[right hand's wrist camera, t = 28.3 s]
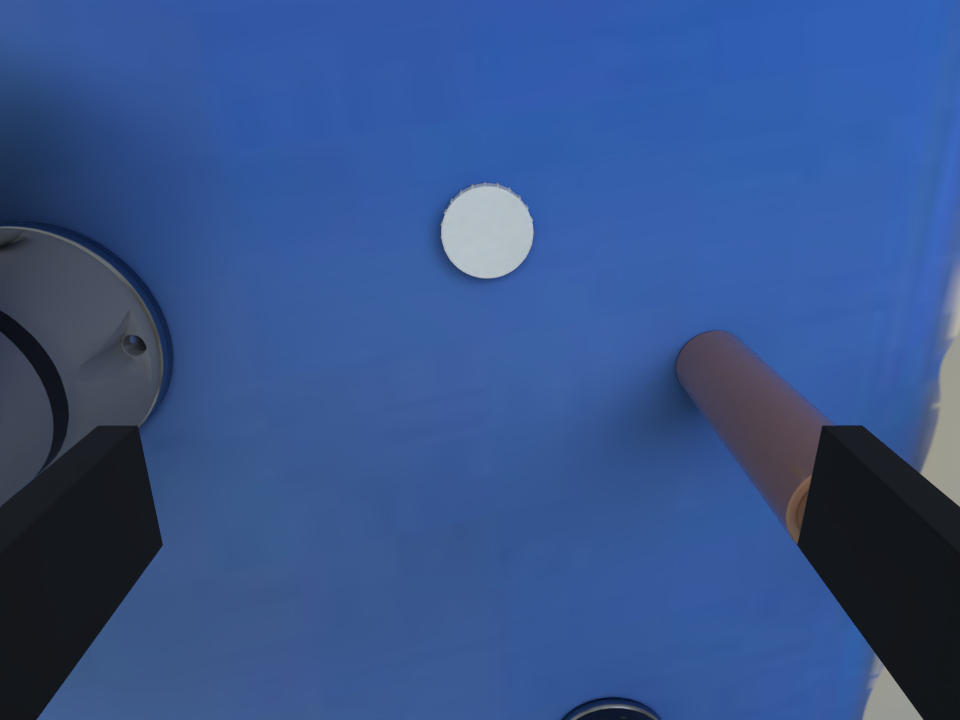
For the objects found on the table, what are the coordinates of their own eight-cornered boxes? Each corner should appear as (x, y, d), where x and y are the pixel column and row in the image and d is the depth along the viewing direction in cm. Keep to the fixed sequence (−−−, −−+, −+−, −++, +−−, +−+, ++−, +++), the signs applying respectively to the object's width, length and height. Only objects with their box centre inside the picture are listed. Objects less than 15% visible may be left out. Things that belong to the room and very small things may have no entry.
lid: (423, 216, 40) (420, 221, 38) (499, 162, 39) (500, 165, 37) (475, 289, 42) (474, 297, 40) (549, 240, 41) (552, 245, 39)
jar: (761, 368, 44) (944, 538, 27) (700, 410, 45) (838, 599, 28) (723, 315, 42) (889, 458, 25) (661, 360, 43) (780, 525, 26)
